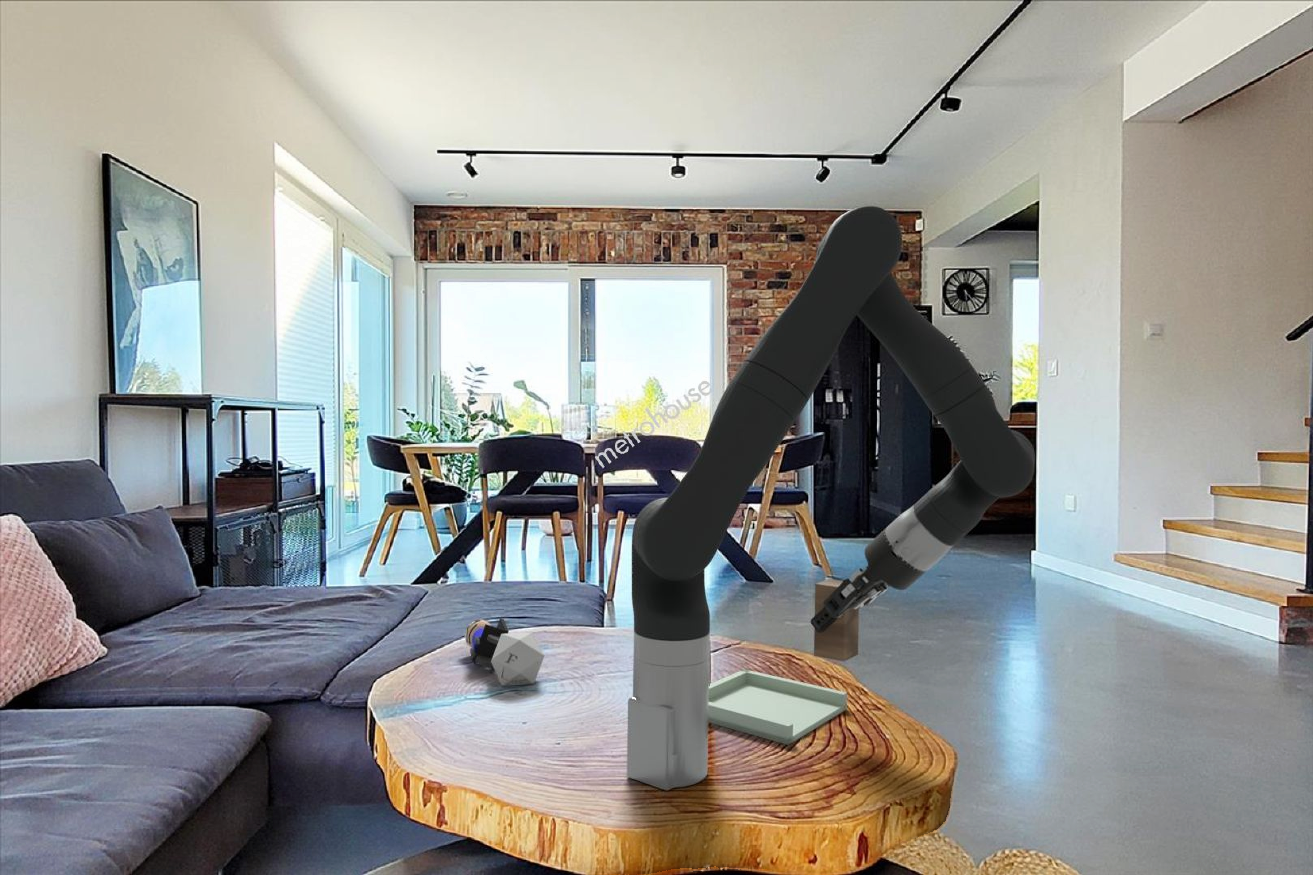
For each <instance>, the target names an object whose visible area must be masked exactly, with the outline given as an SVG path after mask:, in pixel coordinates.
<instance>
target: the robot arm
mask: <svg viewBox="0 0 1313 875" xmlns="http://www.w3.org/2000/svg"><path fill="white" fill-rule="evenodd" d="M902 247H903V234H902V230H901V227H900V225H899V223H898V220H897V219H896V218H895V217H894V216H893V214H892V213H890V211H888V210H886V209H885V208H882V207H880V206H875V205H864V206H859V207H855V208H853V209H851V210H850V209H849V210H848V211H846V212H845V213H843V214H841V215H840V216H839V217H838V218H836V219H835V220H834V222H832V224H831V225H830V227H829V229H828V230H827V232H826V233H825V234H824V236H823V237H822V239H821V240H820V242H819V244H818V247H817V251H816V256H815V258H816V259H815V262H813V265H812V267H811V269H810V271H809V273H808V275H807V276H806V278H805V280H804V282H803V284H802V285H801V287H800V288H799V290H798V291H797V293H796V294H795V295H794V297H793V298H792V299H791V301H789V303H788V304H787V305H786V306H785V308H784V309H783V310H782V311H781V313H780V314H778V316H777V317H776V319H774V321H773V322H772V323H771V325H770V326H769V327H768V328H767V330H765V332H763V334H762V336H761V337H760V338H759V340H758V341H757V342H756V343H755V344H754V346H753V348H752V349H751V350H750V351H749V353H748V354H747V356H746V357H745V358H744V360H743V362H742V363H741V364H740V366H739V367H738V370H737V371H736V372H735V374H734V375H733V377H732V378H731V381H730V382H729V384H728V385H727V386H726V389H725V390H724V391H723V394H722V396H721V397H720V399H719V402H718V404H717V406H716V408H715V411H714V414H713V416H712V418H711V422H710V424H709V427H708V430H707V433H706V435H705V438H704V441H703V444H702V446H701V448H700V450H699V452H698V454H697V456H696V458H695V460H694V462H693V463H692V464H691V466H690V468H689V469H688V471H687V472H686V474H685V475H684V476H683V477H682V479H681V480H680V481H679V483H678V484H677V486H676V487H675V488H674V490H672V492H671V493H670V494H669V496H668V497H661V498H658V499H655V500H653V501H651V502H650V503H647V505H645V506H644V507H643V508H642V509H641V511H639V513H638V515H637V517H636V518H635V521H634V524H633V527H632V533H631V534H632V535H631V601H632V602H631V603H632V613H633V660H632V661H633V663H632V664H633V667H632V696H631V697H629V698H628V699H627V740H626V741H627V744H626V745H627V746H626V751H627V752H626V777H627V778H630V779H633V780H636V781H638V782H641V783H644V784H647V785H650V786H653V787H655V788H657V789H661V790H663V791H669V790H671V789H673V788H683V787H688V786H692V785H695V784H697V783H700V782H702V781H703V780H704V779H705V778H706V777H707V774H708V759H709V758H708V757H709V756H708V754H709V753H708V752H709V751H708V750H709V722H708V699H709V684H710V645H711V644H710V641H711V640H710V638H711V637H710V634H711V633H710V632H711V630H710V629H711V628H710V627H711V623H710V622H711V612H710V608H709V603H708V601H707V594H706V593H707V592H706V584H705V583H706V582H705V569H706V568H707V567H708V566H709V565H710V563H711V562H712V560H713V559H714V558H715V555H716V553H718V552H717V551H718V550H719V547H720V546H721V543H722V541H723V539H724V538H725V535H726V533H727V531H728V529H729V527H730V525H731V523H732V521H733V519H734V518H735V515H736V513H737V511H738V510H739V508H740V505H741V503H742V501H743V500H744V498H745V496H746V495H747V493H748V491H749V489H750V488H751V486H752V485H753V484H754V482H755V480H756V479H757V478H758V476H759V475H760V473H761V472H762V471H763V470H764V469H765V467H766V466H767V464H768V463H769V461H770V460H771V458H772V457H773V455H774V454H775V452H776V451H777V449H778V448H779V446H780V444H781V443H782V441H783V440H784V439H785V437H786V436H787V434H788V433H789V431H791V429H792V427H793V426H794V424H795V423H796V421H797V420H798V418H799V416H800V415H801V414H802V412H803V410H804V409H805V407H806V405H807V403H808V402H809V400H810V399H811V397H812V395H813V393H814V392H815V390H816V388H817V386H818V384H819V383H820V381H821V380H822V378H823V376H824V375H825V372H826V370H827V369H828V367H829V365H830V363H831V361H832V359H833V357H834V355H835V354H836V351H837V349H838V347H839V345H840V344H841V341H842V339H843V337H844V335H845V334H846V332H847V329H848V328H849V326H850V324H851V323H852V322H853V320H854V318H856V316H857V317H858V318H859V319H860V321H862V323H863V324H864V325H865V326H866V327H867V328H868V329H869V331H870V332H871V333H872V334H873V336H875V337H876V339H878V341H879V342H880V344H882V345H883V347H884V348H885V349H886V350H887V352H888V353H889V354H890V355H891V357H892V358H893V359H894V361H895V362H896V363H897V365H898V367H900V369H901V370H902V372H903V373H904V374H905V376H906V377H907V378H908V380H909V381H910V382H911V384H912V386H913V387H914V388H915V390H916V391H917V393H918V395H919V396H920V397H921V398H922V400H923V402H924V403H925V405H926V406H927V407H928V409H929V410H930V411H931V413H932V415H934V417H935V418H936V420H937V421H938V422H939V423H940V425H941V426H942V427H943V429H944V430H945V432H946V434H947V435H948V437H949V439H950V440H949V441H950V442H951V444H952V446H953V447H954V450H955V451H956V453H957V455H958V457H959V459H960V461H958V463H956V465H955V466H954V467H953V468H952V469H951V470H950V472H949V473H948V474H947V475H946V476H945V477H944V478H943V479H942V480H940V481H939V482H938V483H937V484H936V485H934V486H933V487H932V488H930V490H928V492H926V493H925V494H923V496H922V497H921V498H920V499H919V500H918V501H917V502H915V503H914V504H913V505H912V506H911V507H909V508H908V509H906V510H905V511H904V512H902V513H901V514H899V515H898V516H897V518H895V519H894V520H893V521H892V522H891V523H889V525H888V526H886V528H884V529H883V531H881V532H880V533H879V534H878V535H877V536H876V537H875V538H874V539H872V541H871V542H869V543H868V544H867V545H866V546H865V547H864V556H865V560H866V561H867V566H866V567H864V568H862V567H860V568H858V569H857V570H856V571H855V572H853V573H852V574H851V577H850V578H846V579H843V580H842V581H843V582H842V583H841V584H840V586H839V587H838V588H837V589H836V590H835V591H834V592H833V593H832V594H831V595H830V596H829V597H828V598H827V599H826V600H825V601H824V602H823V604H824V606H825V607H824V608H823V609H822V610H821V611H820V612H819V613H818V614H816V615H815V614H814V616H813V617H812V618H811V619H810V624H811V625H812V627H813V628H815V629H816V631H817V632H819V633H821V632H823V631H824V630H826V629H827V628H828V627H829V626H830V625H831V624H832V623H833V622H834V621H836V620H837V619H838V618H839V617H840V618H841V617H842V616H843V614H845V613H846V612H847V611H848V610H849V609H857V608H858V607H859V611H860V610H861V609H862V607H863V606H864V607H866V606H869V605H870V604H871V603H872V602H874V601H875V599H877V598H878V597H879V596H880V595H883V594H884V593H885V592H886V591H888V590H889V587H890V588H893V589H895V590H898V591H904V590H907V589H909V587H910V586H912V585H913V584H914V583H916V581H917V580H918V579H920V578H921V577H922V576H923V575H925V574H926V573H927V572H928V571H929V570H930V569H931V568H932V567H933V566H935V565H936V564H937V563H938V562H939V561H940V560H941V559H943V557H945V555H946V554H947V553H948V552H949V550H950V549H952V547H953V546H955V545H956V544H957V543H958V542H960V541H961V539H962V538H964V537H965V536H967V534H968V533H970V531H972V530H973V529H974V528H975V527H976V526H977V525H978V523H980V521H981V520H982V518H983V517H984V515H985V513H986V512H987V510H988V509H989V508H990V506H992V505H993V504H994V503H995V502H996V501H997V500H999V498H1008V497H1013V496H1016V495H1018V494H1020V493H1022V492H1023V491H1024V490H1025V489H1026V488H1027V487H1028V486H1029V485H1030V483H1031V481H1032V480H1033V476H1034V473H1035V462H1036V461H1035V460H1036V454H1035V449H1034V446H1033V445H1032V443H1031V441H1030V440H1029V439H1028V438H1027V437H1026V436H1025V435H1024V434H1023V433H1022V432H1019V431H1016V430H1013V429H1011V428H1010V427H1009V425H1008V424H1007V422H1006V420H1005V419H1004V418H1003V417H1002V415H1001V413H1000V412H999V410H998V409H997V407H996V403H995V399H994V396H993V395H992V392H991V391H990V389H989V388H988V386H987V384H985V382H984V381H983V379H982V377H980V375H979V373H978V372H977V371H976V369H975V368H974V366H973V365H972V364H971V362H970V360H969V359H968V358H967V356H965V354H964V352H962V350H960V348H959V346H957V345H956V344H955V343H954V342H953V341H952V340H951V339H950V338H949V337H948V336H946V335H945V334H944V333H943V332H942V331H941V330H939V329H938V328H937V327H936V326H935V325H933V324H932V323H931V322H930V321H929V320H928V319H926V318H925V317H924V316H923V315H922V314H921V312H919V311H918V310H917V309H916V307H914V305H913V304H912V303H911V302H910V300H909V299H908V297H907V296H906V295H905V294H904V293H903V291H902V289H901V288H900V286H899V284H898V282H897V281H896V278H895V277H894V274H893V272H892V271H893V270H894V268H895V267H896V266H897V264H898V262H899V260H900V256H901V254H902V249H903V248H902ZM855 599H856V601H857V602H854V600H855ZM836 602H837V603H838V604H839V606H840V607H839V606H838V605H837V603H836Z"/></svg>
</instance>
